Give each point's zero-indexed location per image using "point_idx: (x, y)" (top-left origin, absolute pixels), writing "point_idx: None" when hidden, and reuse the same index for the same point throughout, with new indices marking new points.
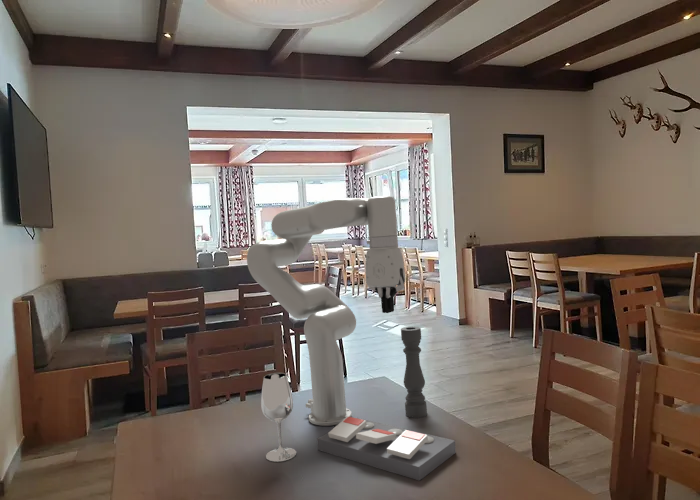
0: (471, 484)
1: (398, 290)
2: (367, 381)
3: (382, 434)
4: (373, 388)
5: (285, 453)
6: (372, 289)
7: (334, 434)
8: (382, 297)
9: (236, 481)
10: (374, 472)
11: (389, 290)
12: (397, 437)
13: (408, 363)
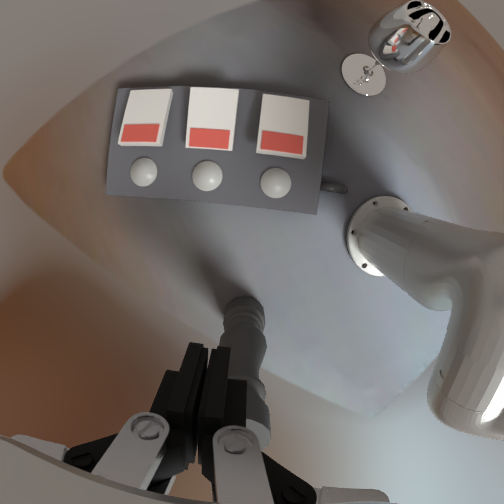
0: (71, 123)
1: (43, 443)
2: (388, 399)
3: (199, 121)
4: (369, 381)
5: (356, 70)
6: (351, 493)
7: (293, 98)
8: (228, 437)
9: (356, 4)
10: (193, 79)
11: (108, 460)
12: (193, 160)
13: (245, 360)
